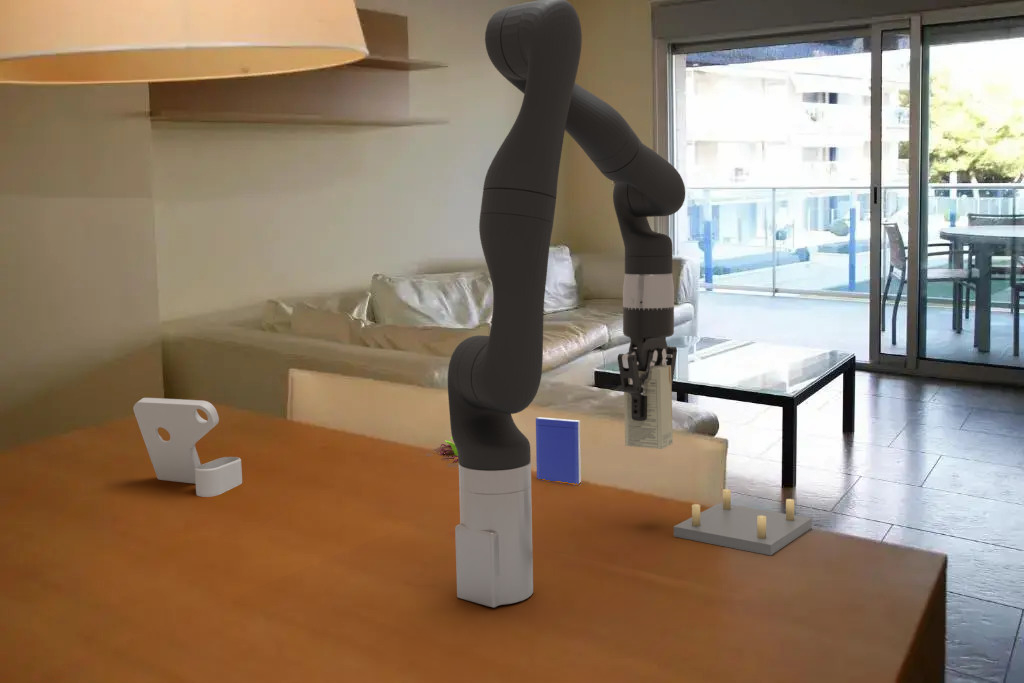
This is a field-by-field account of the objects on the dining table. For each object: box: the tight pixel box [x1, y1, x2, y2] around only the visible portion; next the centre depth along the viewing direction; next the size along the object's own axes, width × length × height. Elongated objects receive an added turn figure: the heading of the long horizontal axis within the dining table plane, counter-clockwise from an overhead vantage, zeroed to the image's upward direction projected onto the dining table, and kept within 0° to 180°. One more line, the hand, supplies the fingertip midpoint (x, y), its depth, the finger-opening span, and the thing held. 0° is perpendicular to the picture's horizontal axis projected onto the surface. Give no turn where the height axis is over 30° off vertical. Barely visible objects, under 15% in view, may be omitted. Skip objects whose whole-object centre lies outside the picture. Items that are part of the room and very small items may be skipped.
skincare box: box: [623, 365, 674, 450], centre depth 146 cm, size 6×4×12 cm
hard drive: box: [535, 416, 582, 484], centre depth 170 cm, size 2×8×12 cm, turn 61°
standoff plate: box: [673, 488, 813, 556], centre depth 143 cm, size 15×15×4 cm
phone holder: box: [132, 397, 243, 498], centre depth 170 cm, size 17×10×18 cm, turn 69°
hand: (648, 417), depth 146 cm, fingers closed on skincare box, 4 cm apart
